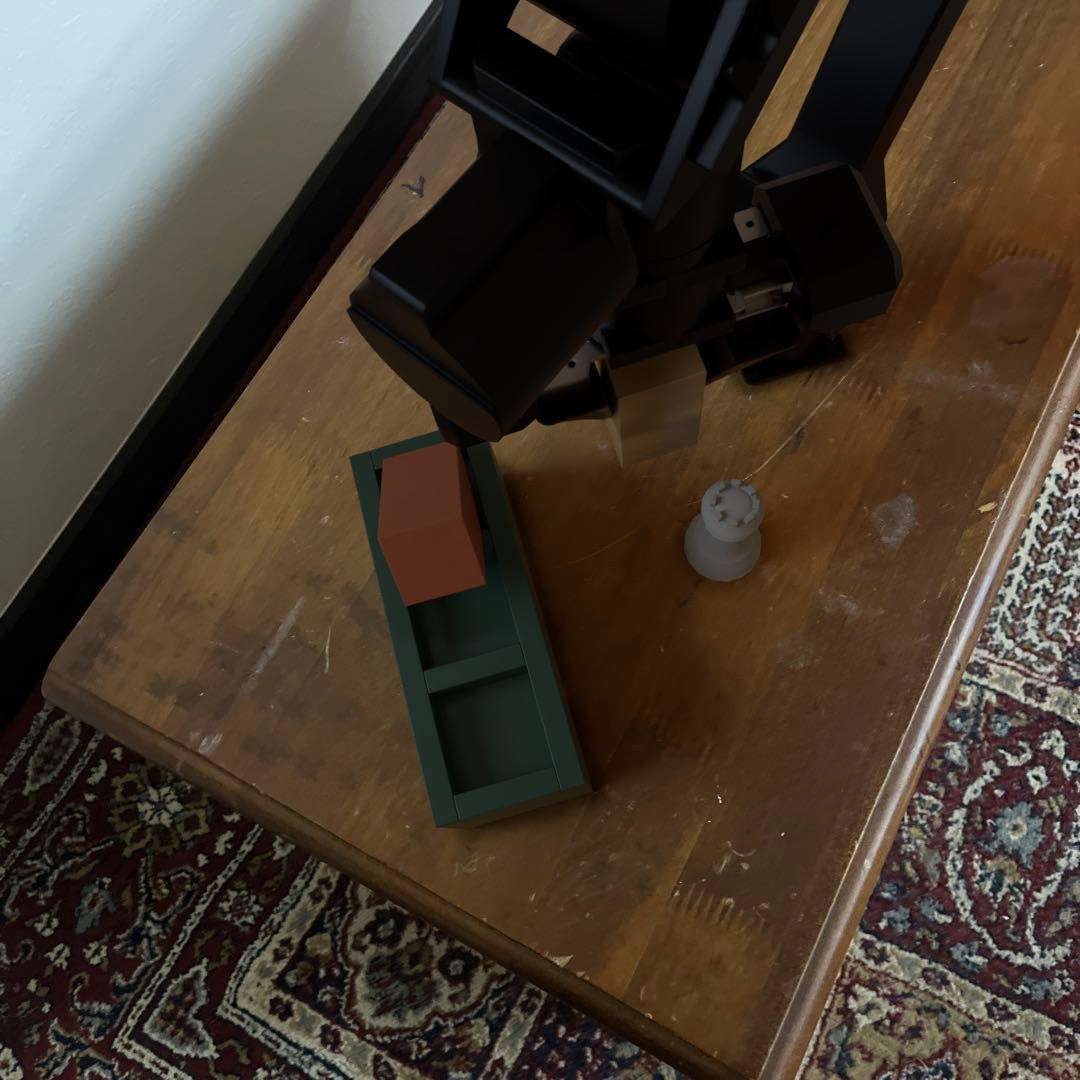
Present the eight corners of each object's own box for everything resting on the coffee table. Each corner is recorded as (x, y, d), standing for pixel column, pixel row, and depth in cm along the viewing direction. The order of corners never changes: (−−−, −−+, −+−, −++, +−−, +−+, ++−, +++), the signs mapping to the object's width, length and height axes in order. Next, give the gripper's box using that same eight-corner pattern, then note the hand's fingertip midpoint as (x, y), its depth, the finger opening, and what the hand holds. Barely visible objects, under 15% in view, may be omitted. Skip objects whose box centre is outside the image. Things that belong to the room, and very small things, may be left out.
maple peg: (671, 376, 49) (676, 293, 42) (697, 444, 48) (707, 371, 40) (597, 400, 49) (589, 321, 42) (621, 468, 48) (617, 400, 40)
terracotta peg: (456, 438, 50) (462, 514, 43) (478, 502, 52) (487, 584, 45) (382, 458, 50) (376, 538, 43) (407, 522, 52) (405, 607, 45)
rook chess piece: (768, 523, 57) (789, 474, 49) (748, 593, 55) (766, 554, 48) (695, 502, 57) (704, 451, 50) (673, 571, 56) (679, 529, 49)
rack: (502, 474, 59) (480, 416, 51) (593, 792, 53) (585, 783, 45) (387, 508, 59) (348, 456, 51) (465, 829, 53) (434, 828, 45)
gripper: (830, -80, 33) (772, 201, 48) (321, 86, 33) (420, 315, 48) (965, 171, 30) (858, 391, 45) (397, 354, 30) (479, 512, 45)
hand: (647, 395), depth 46 cm, fingers closed on maple peg, 4 cm apart
